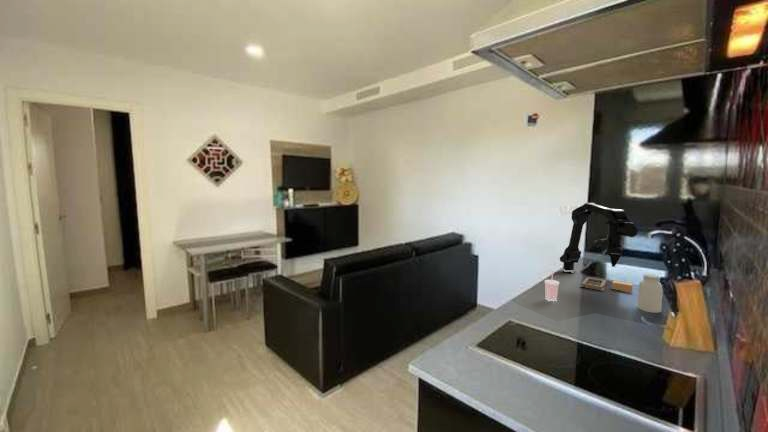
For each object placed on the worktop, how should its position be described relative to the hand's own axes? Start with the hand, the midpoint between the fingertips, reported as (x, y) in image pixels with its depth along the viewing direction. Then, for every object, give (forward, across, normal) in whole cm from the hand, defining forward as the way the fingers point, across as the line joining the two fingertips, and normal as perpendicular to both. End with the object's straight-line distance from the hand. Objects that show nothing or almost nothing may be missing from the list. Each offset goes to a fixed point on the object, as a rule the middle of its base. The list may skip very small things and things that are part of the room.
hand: (612, 264), depth 167 cm
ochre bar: (+13, -1, +4) cm, 14 cm away
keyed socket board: (+13, -2, -8) cm, 15 cm away
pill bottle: (+14, +24, +13) cm, 30 cm away
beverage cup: (+13, +34, -24) cm, 44 cm away
